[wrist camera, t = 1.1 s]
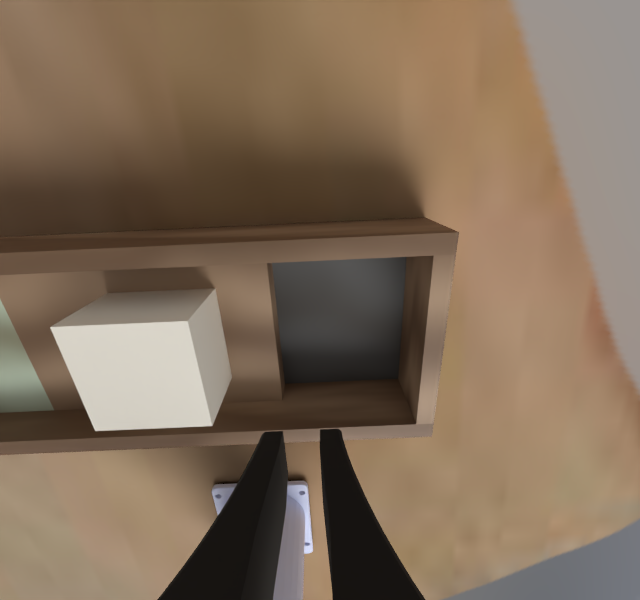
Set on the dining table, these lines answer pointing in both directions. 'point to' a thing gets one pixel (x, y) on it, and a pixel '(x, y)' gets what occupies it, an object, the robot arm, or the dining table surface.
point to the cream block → (147, 358)
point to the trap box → (242, 328)
